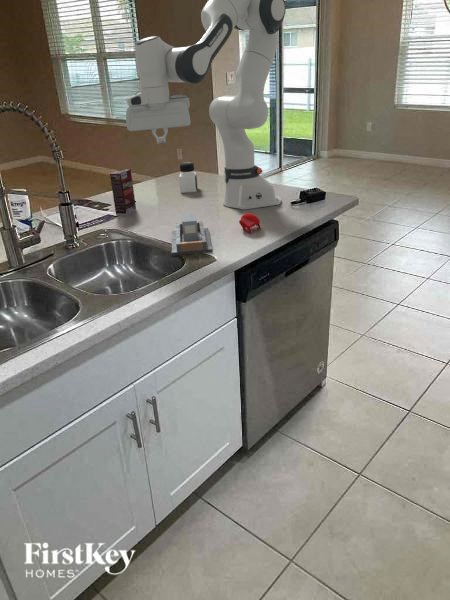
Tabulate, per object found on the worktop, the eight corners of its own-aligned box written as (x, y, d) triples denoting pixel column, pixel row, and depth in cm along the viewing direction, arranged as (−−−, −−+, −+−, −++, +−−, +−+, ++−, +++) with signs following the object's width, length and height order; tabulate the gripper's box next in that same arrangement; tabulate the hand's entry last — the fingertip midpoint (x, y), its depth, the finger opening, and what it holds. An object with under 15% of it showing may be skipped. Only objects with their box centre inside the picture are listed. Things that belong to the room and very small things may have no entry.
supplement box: (127, 216, 178) (120, 173, 171) (115, 215, 180) (108, 173, 173) (137, 209, 186) (131, 168, 178) (126, 209, 187) (119, 168, 180)
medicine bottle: (196, 192, 205) (194, 164, 199) (180, 193, 205) (177, 165, 200) (197, 188, 211) (195, 160, 206) (181, 189, 211) (179, 161, 206)
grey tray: (208, 230, 158) (207, 220, 156) (212, 252, 140) (211, 241, 138) (172, 233, 157) (171, 223, 156) (172, 255, 139) (170, 244, 138)
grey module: (197, 235, 151) (195, 214, 148) (198, 242, 145) (196, 220, 142) (183, 236, 151) (181, 215, 148) (184, 244, 145) (182, 222, 142)
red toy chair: (245, 226, 150) (259, 214, 150) (234, 216, 153) (248, 204, 153) (252, 240, 156) (266, 228, 157) (242, 230, 160) (255, 219, 160)
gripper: (188, 92, 149) (192, 138, 156) (123, 98, 148) (130, 144, 154) (189, 94, 143) (194, 141, 150) (121, 100, 142) (129, 147, 149)
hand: (161, 143), depth 152 cm, fingers closed
